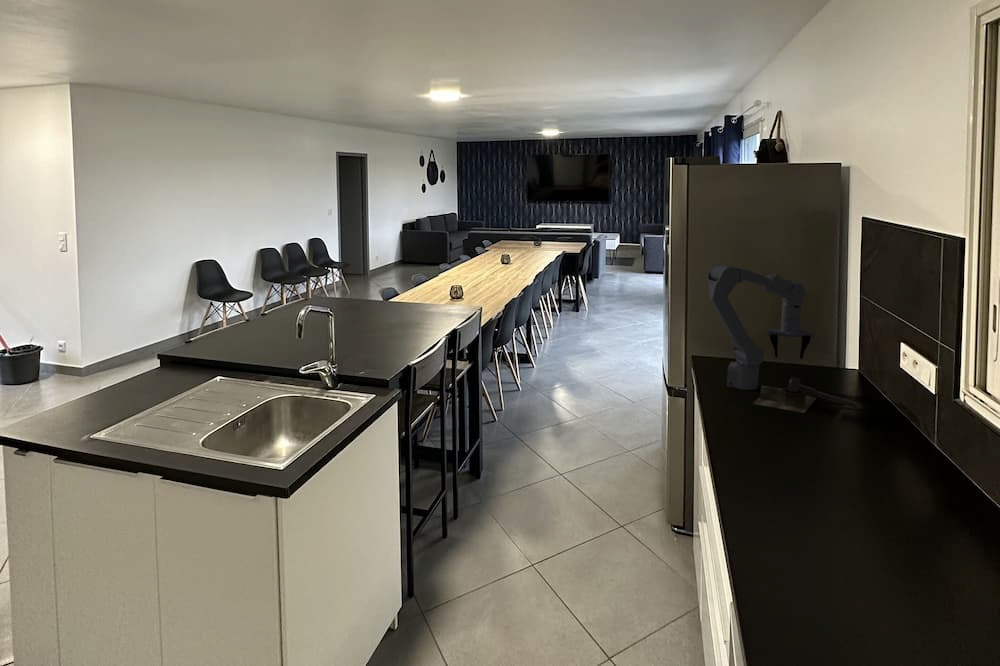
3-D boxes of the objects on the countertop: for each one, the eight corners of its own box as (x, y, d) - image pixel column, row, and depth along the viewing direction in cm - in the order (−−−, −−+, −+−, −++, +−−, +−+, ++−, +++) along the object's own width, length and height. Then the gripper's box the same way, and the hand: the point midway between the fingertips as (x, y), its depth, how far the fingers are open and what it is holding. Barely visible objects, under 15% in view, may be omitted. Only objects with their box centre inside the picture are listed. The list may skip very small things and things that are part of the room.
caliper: (789, 399, 207) (790, 380, 205) (789, 398, 207) (791, 379, 206) (861, 409, 196) (864, 389, 195) (861, 408, 197) (864, 388, 196)
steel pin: (784, 402, 202) (787, 377, 200) (793, 401, 202) (796, 377, 200) (790, 405, 199) (792, 380, 197) (799, 404, 199) (801, 379, 198)
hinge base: (752, 406, 201) (753, 391, 200) (767, 392, 215) (768, 378, 213) (804, 415, 192) (805, 399, 191) (816, 401, 206) (817, 385, 205)
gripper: (767, 319, 215) (765, 359, 217) (816, 321, 209) (813, 361, 212) (767, 315, 221) (765, 353, 224) (814, 317, 216) (811, 356, 218)
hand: (788, 357), depth 218 cm, fingers open, 7 cm apart
